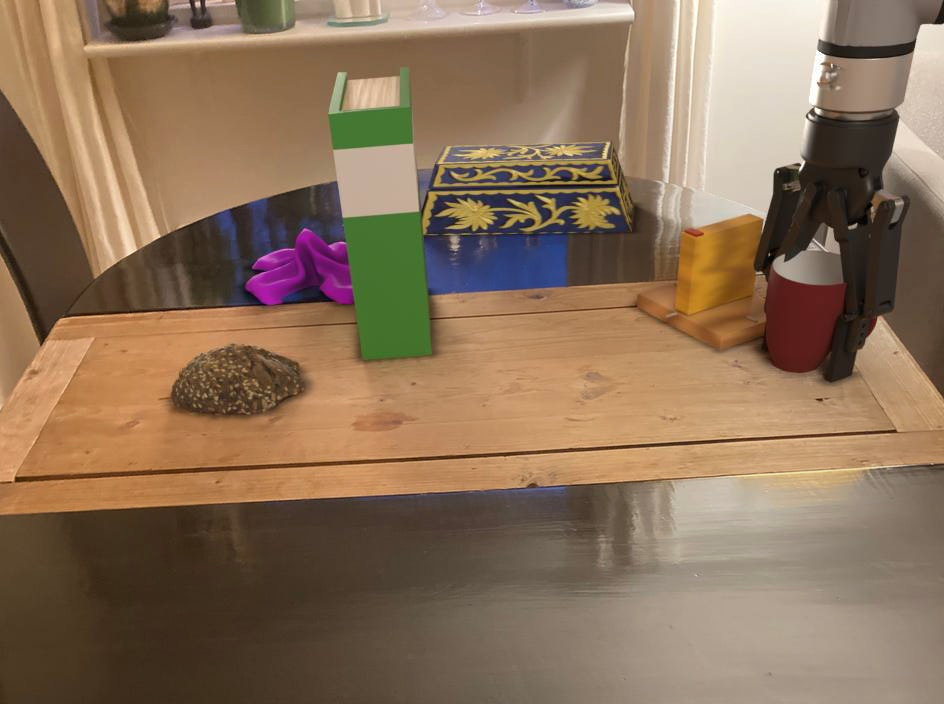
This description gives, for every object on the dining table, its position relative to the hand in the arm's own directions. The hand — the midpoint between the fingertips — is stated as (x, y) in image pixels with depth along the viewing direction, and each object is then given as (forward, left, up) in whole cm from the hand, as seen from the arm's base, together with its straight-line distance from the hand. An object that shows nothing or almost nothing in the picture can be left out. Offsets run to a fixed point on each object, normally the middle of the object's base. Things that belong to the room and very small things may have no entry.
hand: (805, 362), depth 95 cm
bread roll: (+29, +49, -1) cm, 57 cm away
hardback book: (+34, +29, -1) cm, 44 cm away
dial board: (+14, 0, 0) cm, 14 cm away
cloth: (+54, +30, -1) cm, 62 cm away
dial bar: (+14, 0, +2) cm, 14 cm away
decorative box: (+54, -1, -1) cm, 54 cm away
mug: (0, 0, -1) cm, 1 cm away
